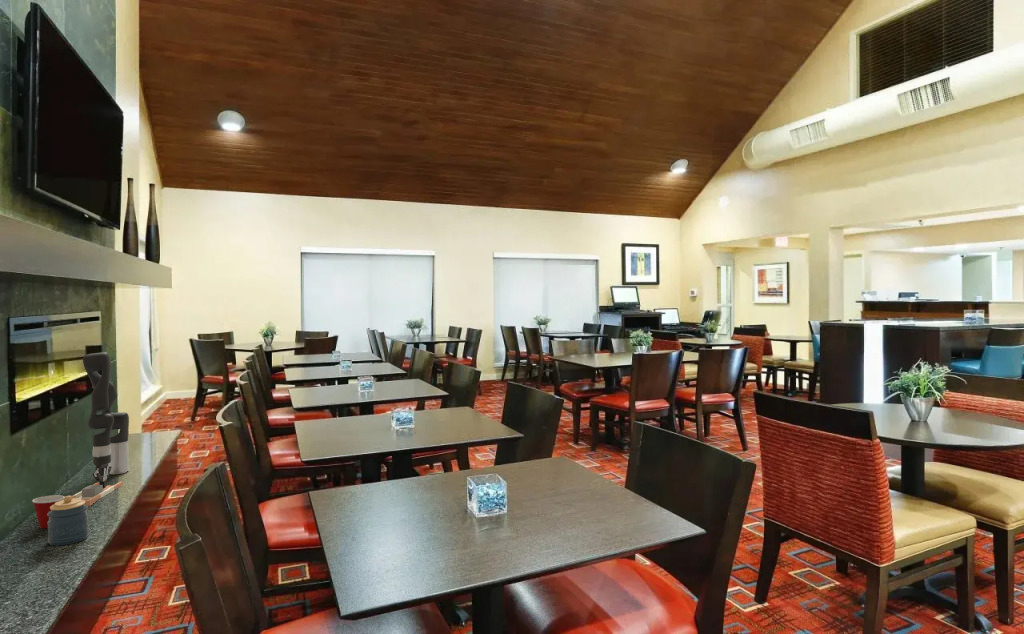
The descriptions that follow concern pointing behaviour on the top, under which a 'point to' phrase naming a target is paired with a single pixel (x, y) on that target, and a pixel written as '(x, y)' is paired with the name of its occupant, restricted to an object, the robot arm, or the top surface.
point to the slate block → (92, 490)
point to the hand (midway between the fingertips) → (102, 488)
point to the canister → (67, 521)
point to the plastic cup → (45, 508)
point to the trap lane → (92, 500)
